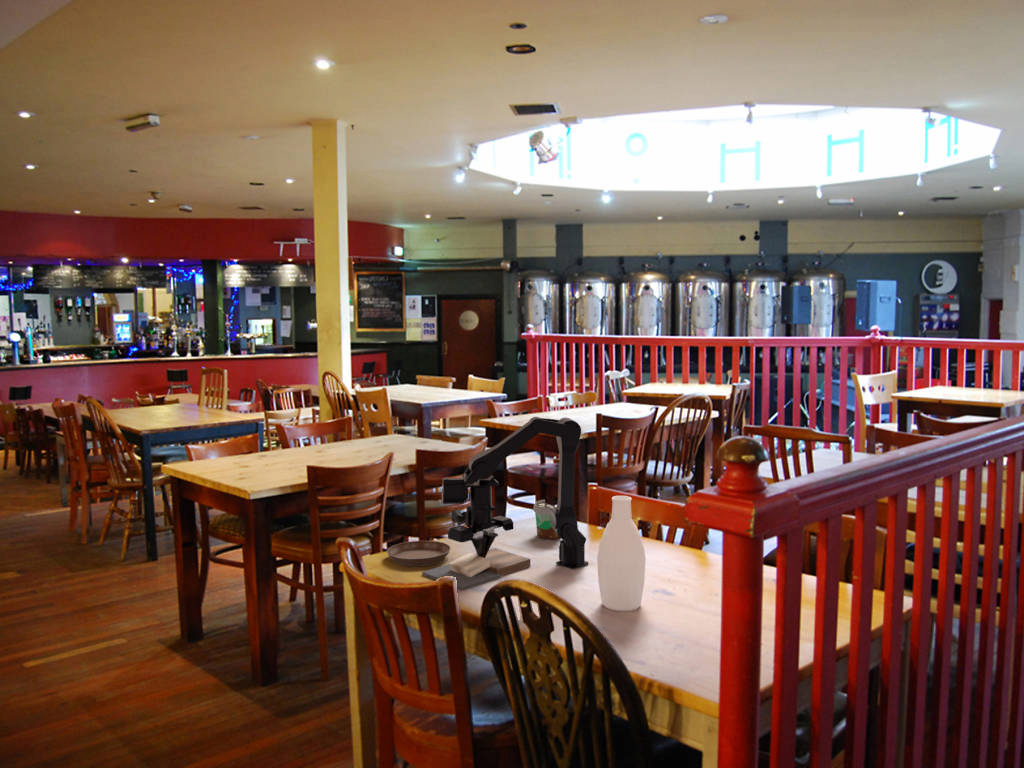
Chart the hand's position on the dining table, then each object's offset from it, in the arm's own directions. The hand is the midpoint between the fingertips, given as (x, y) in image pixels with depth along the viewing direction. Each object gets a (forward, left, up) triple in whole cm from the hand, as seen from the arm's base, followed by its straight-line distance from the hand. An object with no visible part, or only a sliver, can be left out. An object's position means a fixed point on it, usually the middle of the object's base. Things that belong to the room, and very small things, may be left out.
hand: (481, 560), depth 211 cm
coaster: (0, +4, -1) cm, 4 cm away
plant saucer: (+20, +6, -3) cm, 21 cm away
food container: (+10, -34, -3) cm, 36 cm away
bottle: (-42, -6, -3) cm, 43 cm away
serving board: (0, -5, -3) cm, 6 cm away
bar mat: (0, +7, -3) cm, 8 cm away
